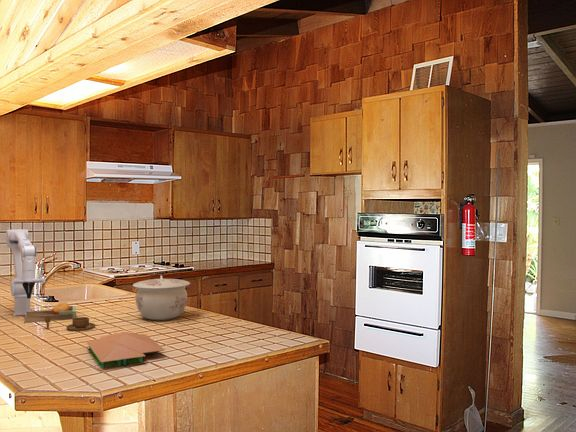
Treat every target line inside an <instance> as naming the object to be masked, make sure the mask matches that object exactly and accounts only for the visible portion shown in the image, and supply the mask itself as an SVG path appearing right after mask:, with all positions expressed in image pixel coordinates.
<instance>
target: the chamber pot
mask: <svg viewBox="0 0 576 432" xmlns="http://www.w3.org/2000/svg"><path fill="white" fill-rule="evenodd" d="M190 285H191V282H190V281H188V280H184V279H178V278H163V275H160V278H152V279H146V280H141V281H138V282H134V283H133V284H132V287H133V288H135V289H137V291H136V294H135V304H136V308H137V310H138V311H139V313H140V315H141V316H142V317H143V318H144V319H146V320H149V321H158V322H159V321H170V320H174V319H176V318H178V317H179V316H181V314H182V313H183V312H184V310H185V308H186V306H187V301H188V292H187V290H186V287H188V286H190Z"/></svg>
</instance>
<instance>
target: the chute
mask: <svg viewBox="0 0 576 432" xmlns="http://www.w3.org/2000/svg"><path fill="white" fill-rule="evenodd" d="M69 307H70V311H59V314H57V315H54V314H53V311H52V309H51V310H50V309H49V310H48V309H47V310H37V311H35V310H34V311H33V310H32V312H26V315H25V316H24V317H23V322H24V323H25V324H26V323H27V324H28V323H38V322H39V323H40V322H45V317H46V316H51V321H54V322H55V321H65V320H72V319H74V318H77V306H73V305H69ZM51 321H50V322H51Z"/></svg>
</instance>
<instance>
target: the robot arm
mask: <svg viewBox="0 0 576 432" xmlns="http://www.w3.org/2000/svg"><path fill="white" fill-rule="evenodd" d="M5 240H6V241H5V242H6V245H7V248H9V249H11V253H12V259H13V261H12V262H13V267H14V275H15V278H14V279H11V280H10V281H11V282H10V295H11V296H12V297H13V298H14V301H13V302H14V305H13V306H14V312H13V314H12V316H14V317H15V316H26V312H33V310H31V299H32V295H33V294H34V291H35V289H34V288H35V285H36V284H45V283H46V278H45V277H44V278H43V277H42V278H38V277H37V278H36V256H37V246H36V244H33V243H32V242H31V240H30V239H29V230H28V229H27V228H24V229H23V228H22V229H21V228H20V229H18V228H16V229H7V230H6V231H5Z"/></svg>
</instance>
